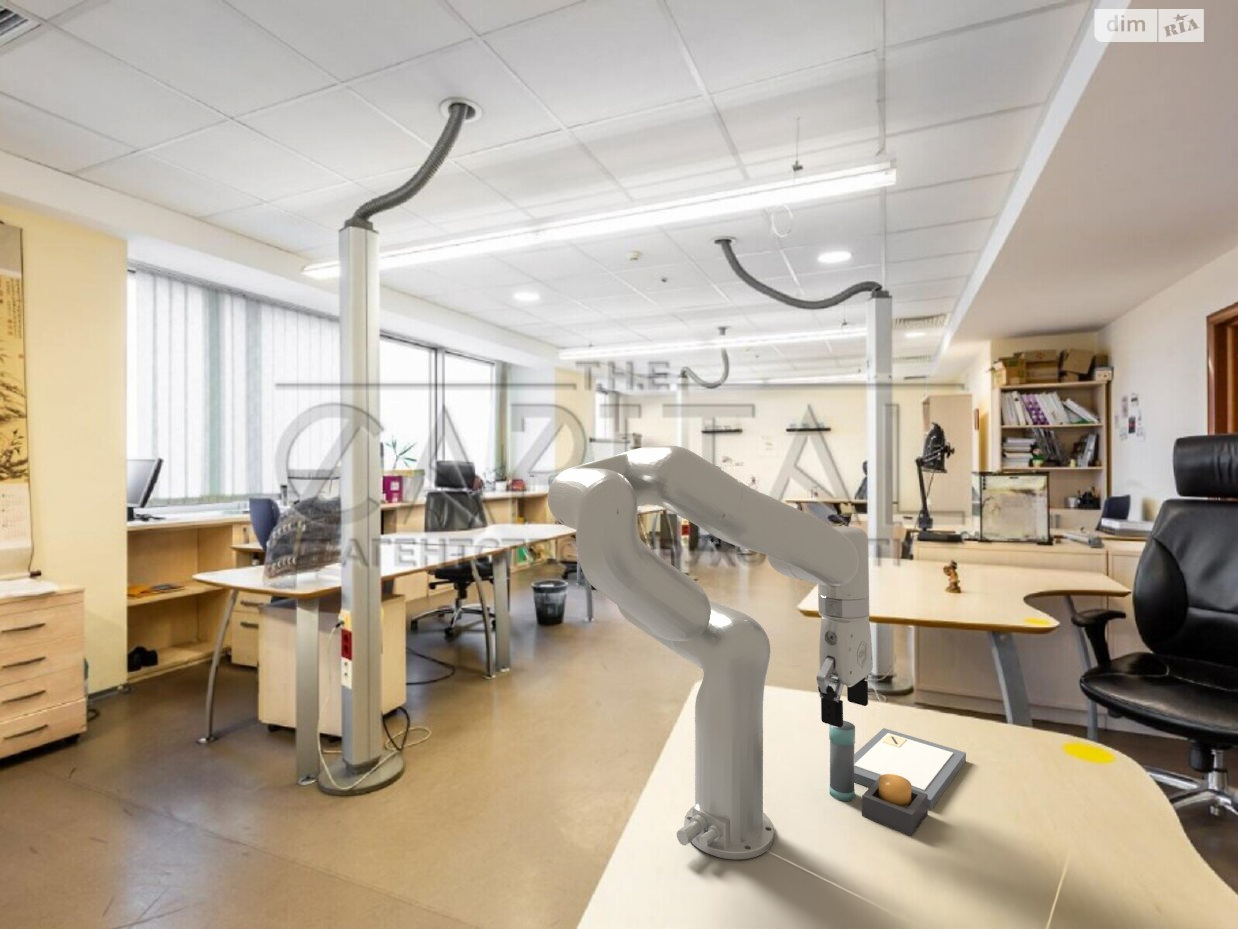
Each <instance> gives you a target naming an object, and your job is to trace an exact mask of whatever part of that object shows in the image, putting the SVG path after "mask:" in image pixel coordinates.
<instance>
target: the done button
mask: <svg viewBox="0 0 1238 929" xmlns="http://www.w3.org/2000/svg"><path fill="white" fill-rule="evenodd" d="M879 797H880V798H881V799H882V800H884V801H887V802H890V803H892V804H895V805H898V806H908V805H910V804H911V783H910V781H908V780H907V779H906V778H904V777H901V776H898V775H894V774H883V775H881V776H880V777H879Z"/></svg>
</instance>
